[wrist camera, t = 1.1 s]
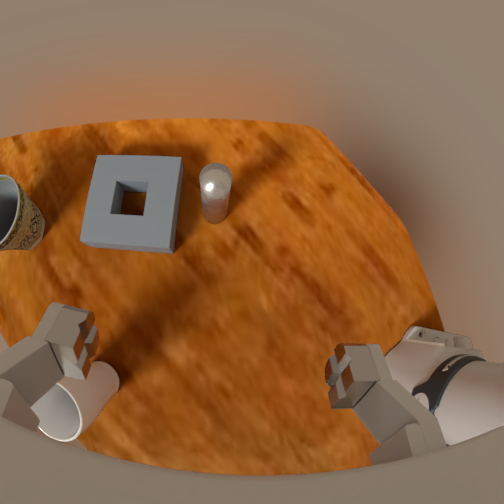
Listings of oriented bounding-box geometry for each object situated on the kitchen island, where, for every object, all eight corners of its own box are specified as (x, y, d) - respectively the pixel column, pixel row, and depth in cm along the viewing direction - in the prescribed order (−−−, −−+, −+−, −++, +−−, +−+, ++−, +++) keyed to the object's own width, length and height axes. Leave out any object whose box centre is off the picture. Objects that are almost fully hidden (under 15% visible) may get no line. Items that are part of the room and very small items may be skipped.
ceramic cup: (64, 231, 38) (29, 212, 28) (22, 274, 36) (-18, 266, 26) (33, 173, 39) (1, 146, 29) (-6, 213, 37) (-41, 195, 27)
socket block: (184, 169, 42) (181, 157, 38) (173, 253, 40) (169, 248, 36) (106, 167, 40) (97, 155, 36) (91, 246, 38) (79, 241, 34)
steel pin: (227, 202, 42) (233, 164, 30) (226, 225, 41) (230, 193, 29) (204, 200, 41) (201, 161, 29) (202, 223, 41) (197, 191, 29)
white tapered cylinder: (109, 410, 35) (65, 454, 20) (73, 378, 35) (16, 406, 20) (135, 378, 36) (95, 414, 21) (97, 345, 36) (42, 362, 21)
